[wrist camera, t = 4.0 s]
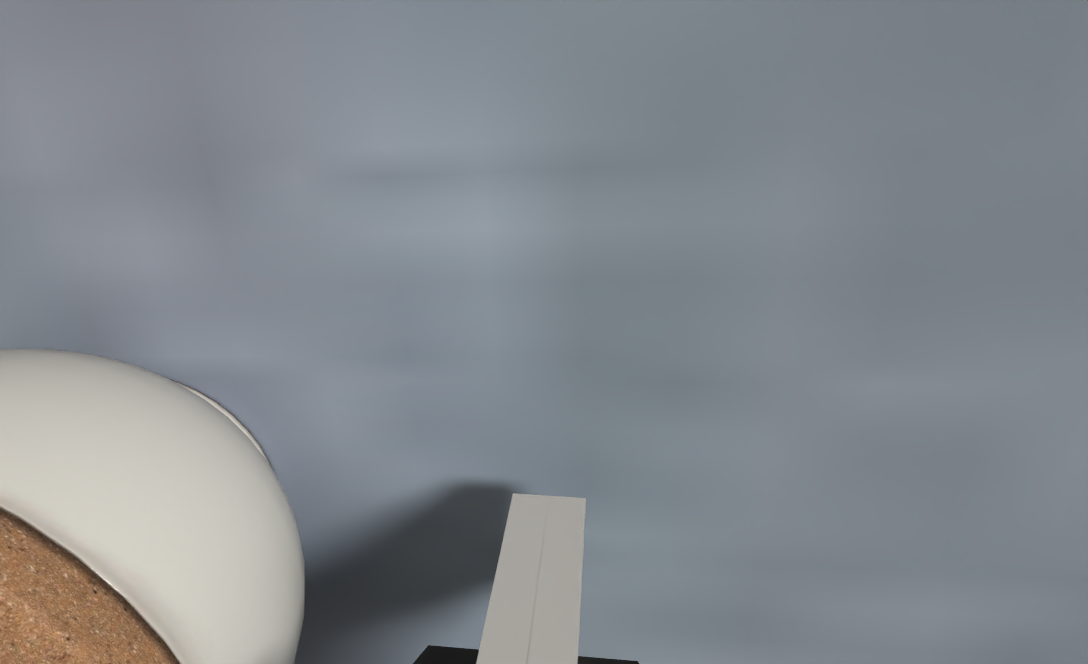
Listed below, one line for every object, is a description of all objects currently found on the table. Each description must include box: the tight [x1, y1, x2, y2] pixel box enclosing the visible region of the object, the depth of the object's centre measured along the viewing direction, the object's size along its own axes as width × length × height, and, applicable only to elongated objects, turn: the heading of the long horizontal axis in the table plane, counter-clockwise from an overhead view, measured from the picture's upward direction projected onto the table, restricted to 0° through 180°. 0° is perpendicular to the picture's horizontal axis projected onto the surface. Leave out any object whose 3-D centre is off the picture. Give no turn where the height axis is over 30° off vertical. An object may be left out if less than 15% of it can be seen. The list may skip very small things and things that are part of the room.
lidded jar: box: [0, 349, 305, 664], centre depth 13 cm, size 11×11×9 cm
